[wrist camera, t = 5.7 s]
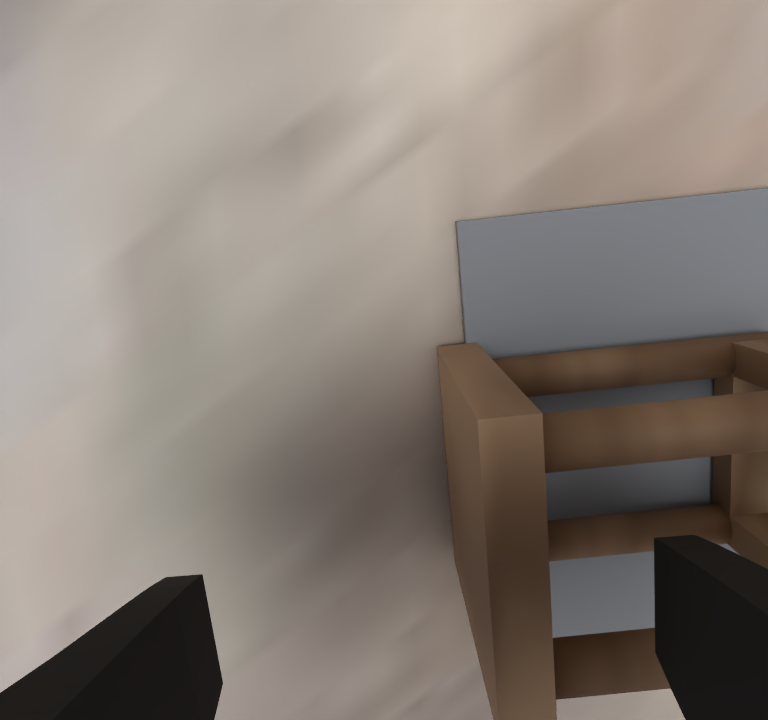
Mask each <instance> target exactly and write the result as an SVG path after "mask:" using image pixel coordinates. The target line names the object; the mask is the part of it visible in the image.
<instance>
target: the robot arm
mask: <svg viewBox="0 0 768 720" xmlns="http://www.w3.org/2000/svg"><path fill="white" fill-rule="evenodd" d="M654 595H655V653H656V656H657V658H658V660H659V662H660V665H661V667H662V669H663V671H664V674H665V676H666V678H667V681H668V683H669V685H670V687H671V690H672V692H673V694H674V696H675V698H676V700H677V702H678V704H679V707H680V709H681V711H682V713H683V715H684V717H685V719H686V720H768V569H767V568H765V567H763V566H761V565H759V564H757V563H755V562H753V561H751V560H749V559H747V558H745V557H743V556H741V555H738V554H736V553H734V552H732V551H730V550H728V549H726V548H724V547H722V546H720V545H718V544H715V543H713V542H711V541H709V540H706V539H704V538H701V537H699V536H696V535H683V536H671V537H658V538H654ZM222 685H223V682H222V676H221V671H220V666H219V660H218V655H217V650H216V644H215V639H214V634H213V628H212V623H211V618H210V613H209V607H208V602H207V597H206V591H205V586H204V581H203V575H202V574H201V575H189V576H176V577H166V578H164V579H162V580H161V581H159V582H157V583H155V584H154V585H152V586H151V587H149V588H148V589H146V590H145V591H143V592H142V593H141V594H139V595H138V596H136V597H135V598H133V599H132V600H131V601H129V602H128V603H126V604H125V605H124V606H122V607H121V608H120V609H118V610H117V611H115V612H114V613H113V614H111V615H110V616H109V617H107V618H106V619H105V620H103V621H102V622H100V623H99V624H98V625H96V626H95V627H94V628H92V629H91V630H89V631H88V632H87V633H85V634H84V635H83V636H81V637H80V638H78V639H77V640H76V641H74V642H73V643H72V644H70V645H69V646H68V647H66V648H65V649H63V650H62V651H61V652H59V653H58V654H56V655H55V656H54V657H52V658H51V659H49V660H48V661H46V662H45V663H44V664H42V665H41V666H39V667H38V668H36V669H35V670H33V671H32V672H30V673H29V674H27V675H26V676H24V677H23V678H22V679H20V680H19V681H17V682H16V683H14V684H13V685H11V686H10V687H8V688H7V689H5V690H4V691H2V692H1V693H0V720H214V718H215V714H216V710H217V706H218V701H219V697H220V693H221V689H222Z"/></svg>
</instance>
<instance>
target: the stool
mask: <svg viewBox="0 0 768 720" xmlns="http://www.w3.org/2000/svg"><path fill="white" fill-rule="evenodd" d="M437 354H438V366H439V378H440V390H441V402H442V414H443V426H444V438H445V450H446V462H447V474H448V486H449V498H450V509H451V521H452V533H453V545H454V557H455V564H456V568H457V572H458V576H459V580H460V584H461V588H462V593H463V597H464V601H465V605H466V609H467V613H468V617H469V621H470V625H471V629H472V633H473V637H474V641H475V646H476V650H477V654H478V658H479V662H480V666H481V670H482V674H483V678H484V682H485V686H486V690H487V694H488V699H489V703H490V707H491V711H492V715H493V719H494V720H557V717H556V699H566V698H577V697H587V696H597V695H607V694H617V693H627V692H637V691H647V690H658V689H668V688H671V687H670V685H669V683H668V681H667V678H666V676H665V674H664V671H663V669H662V667H661V665H660V662H659V660H658V658H657V656H656V653H655V628H646V629H636V630H626V631H616V632H606V633H596V634H586V635H576V636H566V637H556V638H553V631H552V609H551V588H550V566H549V562H550V561H560V560H570V559H580V558H590V557H600V556H610V555H620V554H630V553H640V552H650V551H654V538H658V537H671V536H683V535H696V536H699V537H701V538H704V539H706V540H709V541H711V542H713V543H715V544H718V545H720V544H728V545H729V546H730V547H731V548H733V549H734V550H735V551H736V552H737V553H738V554H739V555H741V556H743V557H745V558H747V559H749V560H751V561H753V562H755V563H757V564H759V565H761V566H763V567H765V568H767V569H768V331H764V332H754V333H744V334H735V335H725V336H715V337H705V338H695V339H685V340H676V341H666V342H656V343H646V344H636V345H627V346H617V347H607V348H597V349H587V350H578V351H568V352H558V353H548V354H538V355H528V356H519V357H509V358H499V359H491V357H490V356H489V355H488V354H487V353H486V352H485V351H484V350H483V349H482V348H481V347H480V346H479V345H478V344H477V342H475V343H465V344H456V345H446V346H437ZM713 378H714V396H708V397H699V398H689V399H679V400H669V401H659V402H649V403H639V404H630V405H620V406H610V407H600V408H590V409H580V410H570V411H560V412H551V413H542V412H541V411H540V410H539V409H538V408H537V407H536V406H535V405H534V404H533V403H532V402H531V400H530V399H529V398H528V397H536V396H546V395H555V394H565V393H575V392H585V391H595V390H605V389H614V388H624V387H634V386H644V385H654V384H664V383H674V382H683V381H693V380H703V379H713ZM712 456H713V490H712V504H707V505H697V506H687V507H677V508H667V509H657V510H647V511H638V512H628V513H618V514H608V515H598V516H588V517H578V518H568V519H558V520H548V521H547V502H546V480H545V473H554V472H564V471H574V470H583V469H593V468H603V467H613V466H623V465H633V464H643V463H653V462H663V461H673V460H683V459H693V458H702V457H712Z"/></svg>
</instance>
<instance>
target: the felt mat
mask: <svg viewBox="0 0 768 720" xmlns="http://www.w3.org/2000/svg"><path fill="white" fill-rule="evenodd" d="M455 223H456V235H457V248H458V261H459V274H460V287H461V300H462V313H463V325H464V338H465V343H475V342H477V344H478V345H479V346H480V347H481V348H482V349H483V350H484V351H485V352H486V353H487V354H488V355H489V356H490V357H491V359H499V358H509V357H519V356H528V355H538V354H548V353H558V352H568V351H578V350H587V349H597V348H607V347H617V346H627V345H636V344H646V343H656V342H666V341H676V340H685V339H695V338H705V337H715V336H725V335H735V334H744V333H754V332H764V331H768V188H764V189H754V190H745V191H736V192H726V193H717V194H708V195H699V196H689V197H680V198H671V199H661V200H652V201H643V202H634V203H624V204H615V205H606V206H597V207H587V208H578V209H569V210H559V211H550V212H541V213H532V214H522V215H513V216H504V217H494V218H485V219H476V220H467V221H457V222H455ZM708 396H714V378H713V379H703V380H693V381H683V382H674V383H664V384H654V385H644V386H634V387H624V388H614V389H605V390H595V391H585V392H575V393H565V394H555V395H546V396H536V397H528V398H529V399H530V400H531V402H532V403H533V404H534V405H535V406H536V407H537V408H538V409H539V410H540V411H541V412H542V413H551V412H560V411H570V410H580V409H590V408H600V407H610V406H620V405H630V404H639V403H649V402H659V401H669V400H679V399H689V398H699V397H708ZM545 480H546V502H547V521H548V520H558V519H568V518H578V517H588V516H598V515H608V514H618V513H628V512H638V511H647V510H657V509H667V508H677V507H687V506H697V505H707V504H712V490H713V456H712V457H702V458H693V459H683V460H673V461H663V462H653V463H643V464H633V465H623V466H613V467H603V468H593V469H583V470H574V471H564V472H554V473H545ZM720 546H722V547H724V548H726V549H728V550H730V551H732V552H734V553H736V554H738V553H737V552H736V551H735V550H734V549H733V548H731V547H730V546H729V545H728V544H720ZM738 555H739V554H738ZM549 566H550V588H551V609H552V631H553V638H556V637H566V636H576V635H586V634H596V633H606V632H616V631H626V630H636V629H646V628H655V595H654V551H650V552H640V553H630V554H620V555H610V556H600V557H590V558H580V559H570V560H560V561H550V562H549Z"/></svg>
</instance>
